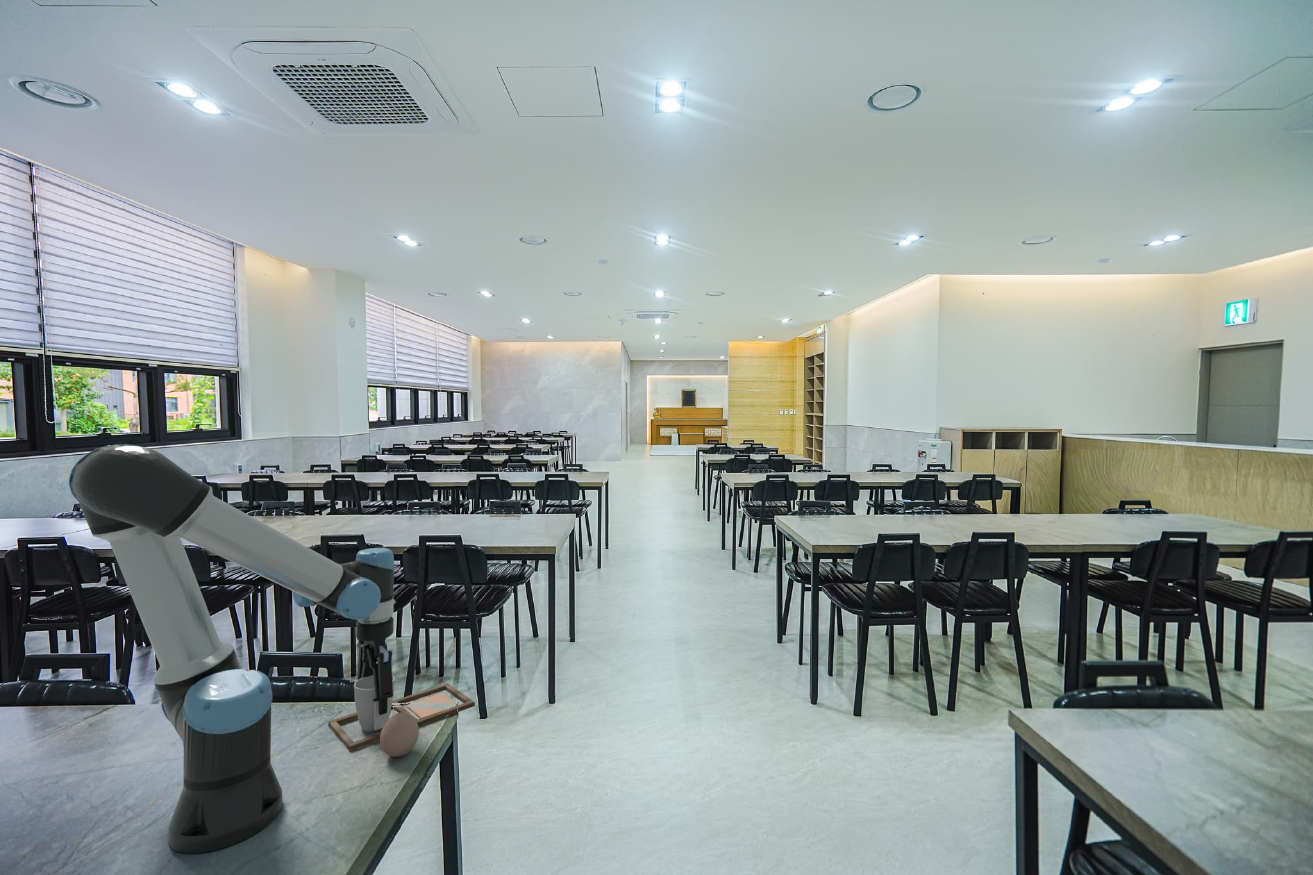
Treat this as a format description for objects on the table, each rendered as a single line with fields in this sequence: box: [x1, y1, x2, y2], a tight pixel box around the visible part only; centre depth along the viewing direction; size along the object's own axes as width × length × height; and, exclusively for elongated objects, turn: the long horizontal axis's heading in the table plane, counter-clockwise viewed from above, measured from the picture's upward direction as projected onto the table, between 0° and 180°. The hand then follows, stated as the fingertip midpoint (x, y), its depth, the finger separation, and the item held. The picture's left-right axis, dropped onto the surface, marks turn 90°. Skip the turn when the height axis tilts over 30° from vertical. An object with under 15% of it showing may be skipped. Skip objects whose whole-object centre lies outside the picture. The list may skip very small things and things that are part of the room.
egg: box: [379, 712, 420, 758], centre depth 114 cm, size 7×7×8 cm
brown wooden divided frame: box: [327, 683, 476, 752], centre depth 130 cm, size 14×28×1 cm, turn 136°
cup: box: [353, 674, 395, 733], centre depth 125 cm, size 8×8×10 cm
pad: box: [407, 692, 455, 719], centre depth 134 cm, size 9×9×1 cm
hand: (374, 720), depth 125 cm, fingers closed on cup, 8 cm apart
